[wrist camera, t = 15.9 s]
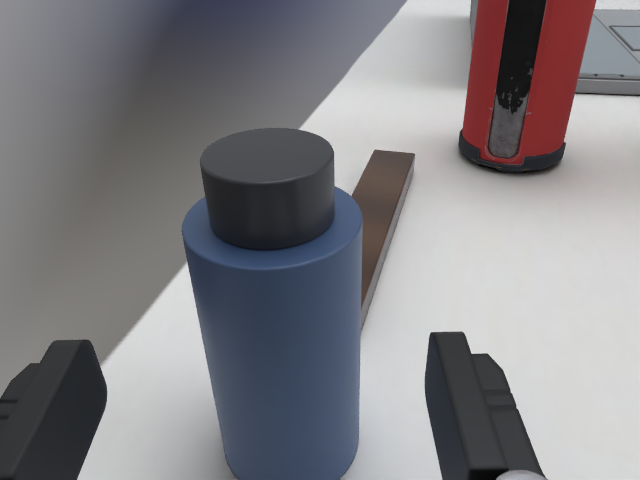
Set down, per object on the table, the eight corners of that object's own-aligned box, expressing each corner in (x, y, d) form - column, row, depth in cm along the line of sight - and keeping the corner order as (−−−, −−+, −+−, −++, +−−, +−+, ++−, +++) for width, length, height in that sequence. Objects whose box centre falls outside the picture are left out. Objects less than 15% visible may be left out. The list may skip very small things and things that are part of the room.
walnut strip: (359, 336, 26) (359, 312, 25) (299, 326, 27) (297, 302, 26) (413, 171, 40) (415, 152, 39) (373, 167, 41) (374, 149, 40)
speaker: (445, 164, 41) (476, -123, 31) (471, 128, 47) (505, -125, 37) (553, 183, 38) (625, -128, 28) (568, 143, 44) (632, -129, 34)
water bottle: (283, 530, 18) (247, 223, 12) (198, 435, 22) (133, 153, 15) (386, 437, 21) (404, 150, 15) (298, 366, 24) (280, 105, 18)
